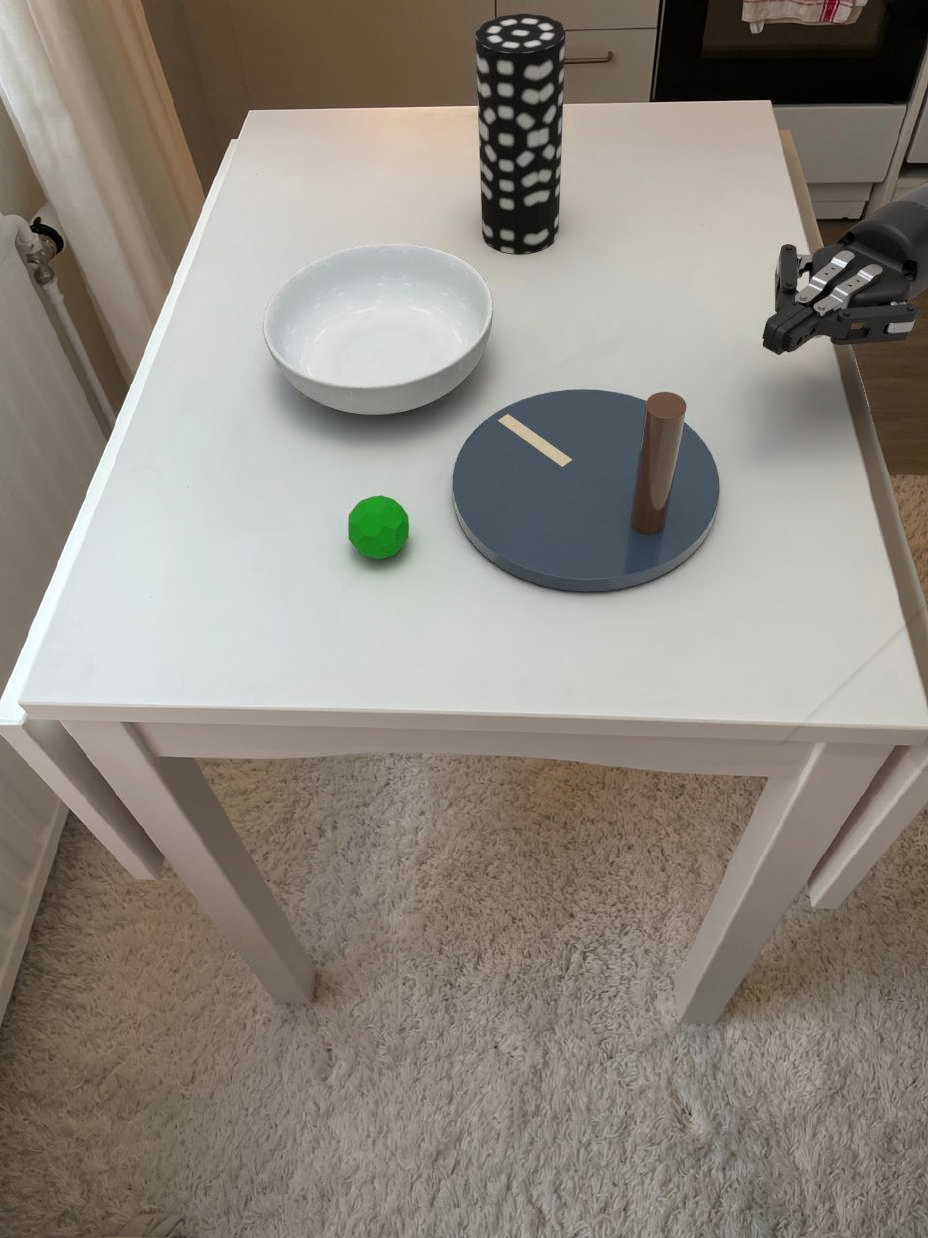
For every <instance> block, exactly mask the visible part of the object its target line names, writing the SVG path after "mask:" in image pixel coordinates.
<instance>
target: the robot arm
mask: <svg viewBox="0 0 928 1238" xmlns="http://www.w3.org/2000/svg"><path fill="white" fill-rule="evenodd" d="M777 259H778V260H777V262H776V267H775V271H774V312H775V313H774V314H773V315H771V316H769V317H768V318H767V320H766V321H765V325H764V329H763V333H762V337H761V339H763V341H762V347H763V348H765V349H767V350H768V351H770V352H772V353H774V354H776V355H777V356H781V355H783V354H784V353H785V352H786V353H792V352H795V351H796V350H798V349H799V348H800V347H801V346H804V345H805V344H806V343H808V342H809V341H810V340H812V339H819V338H822V337H823V336H825V337H829V341H830V342H831V344H833V345H835V346H849V345H861V344H862V345H863V344H874V343H887V342H888V343H889V342H900V341H906V340H908V339H909V337H910V335H911V331H912V330H913V327H914V325H915V322H916V320H917V316H918V314H919V311H920V309H919V307H918V306H917V305H915V304H912V303H910V302H911V301H912V300H914V299H915V298H916V297H917V296H919V295H920V294H921V293H923V292H924V291H925V290H927V289H928V179H926V180H925V181H923V182H922V183H921V184H919V185H917V186H916V187H913V188H911V189H909V190H907V191H905V192H903V193H901V194H899V195H898V196H896V197H894V198H893V199H892V200H890V201H889V202H887V203H886V204H884V205H883V206H881V207H880V208H878V209H877V210H875V211H874V212H872V213H871V214H869V215H868V216H867V217H865V218H863V219H862V220H860V221H859V222H857V223H856V224H855V225H853V226H852V227H850V228H849V229H848V230H847V231H846V232H845V233H844V234H842V236H841V237H840V238H839V239H838V240H837V241H836V242H835V243H834V244H832V245H827V246H823V247H820V248H818V249H817V250H816V251H814V253H813V254H801V253H798V251H797V246H796V245H794V244H792V243H786V244H783V245H781V247H780V251H779V255H778V258H777ZM807 272H808V284H807V285H806V286H805V287H804V288H802V289H801V290H800V291H799V290H798V289H797V288H798V280H799V279H801V278H802V277H803V275H804V274H805V273H807ZM853 324H863V325H862V326H861V327H860V328H851V327H852V325H853Z"/></svg>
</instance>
